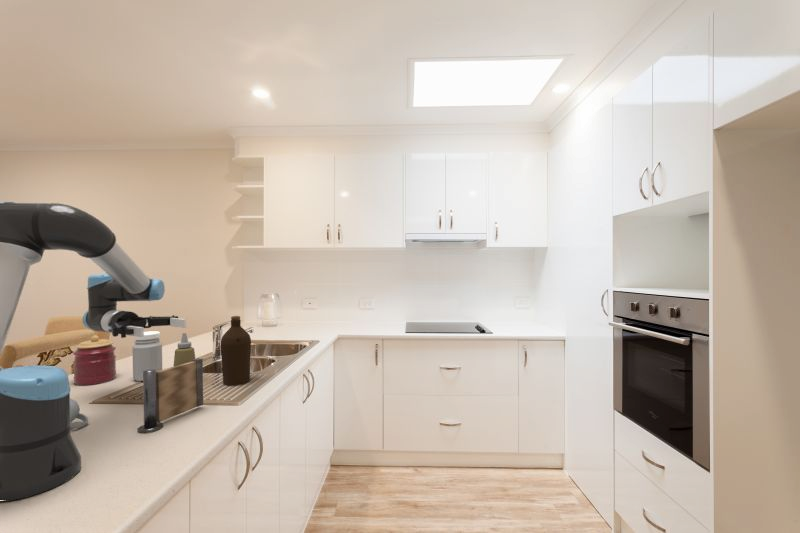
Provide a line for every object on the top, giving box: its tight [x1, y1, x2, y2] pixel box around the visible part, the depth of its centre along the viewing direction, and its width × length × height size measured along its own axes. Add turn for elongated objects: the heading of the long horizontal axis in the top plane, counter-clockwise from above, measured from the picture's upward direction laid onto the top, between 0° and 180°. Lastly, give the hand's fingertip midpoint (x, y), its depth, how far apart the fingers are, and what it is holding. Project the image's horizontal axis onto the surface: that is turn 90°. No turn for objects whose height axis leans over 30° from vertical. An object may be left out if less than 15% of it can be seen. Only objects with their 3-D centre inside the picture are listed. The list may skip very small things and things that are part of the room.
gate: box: [156, 357, 204, 422], centre depth 112 cm, size 14×2×14 cm, turn 158°
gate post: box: [136, 369, 164, 434], centre depth 103 cm, size 6×6×16 cm
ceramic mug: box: [70, 397, 90, 429], centre depth 104 cm, size 11×8×8 cm
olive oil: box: [220, 315, 252, 387], centre depth 143 cm, size 11×11×25 cm
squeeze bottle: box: [172, 332, 196, 367], centre depth 147 cm, size 8×8×18 cm
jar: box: [132, 330, 163, 383], centre depth 148 cm, size 10×10×18 cm
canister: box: [72, 334, 117, 386], centre depth 146 cm, size 13×13×18 cm
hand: (164, 327), depth 116 cm, fingers open, 13 cm apart
